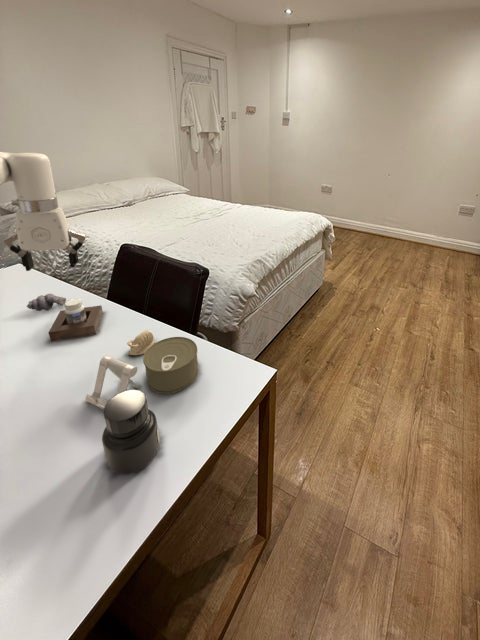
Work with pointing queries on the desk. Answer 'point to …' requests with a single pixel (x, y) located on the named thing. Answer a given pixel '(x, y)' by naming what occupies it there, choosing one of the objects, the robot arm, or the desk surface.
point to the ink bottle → (129, 432)
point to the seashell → (45, 302)
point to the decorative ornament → (141, 343)
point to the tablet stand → (119, 369)
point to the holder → (76, 325)
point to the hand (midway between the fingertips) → (52, 267)
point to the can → (171, 365)
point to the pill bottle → (75, 312)
